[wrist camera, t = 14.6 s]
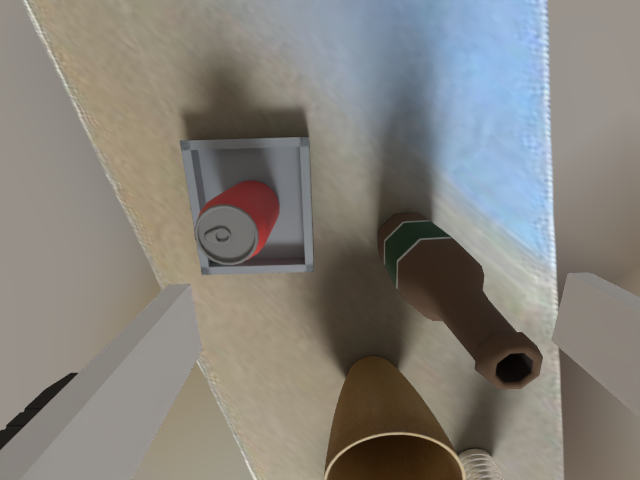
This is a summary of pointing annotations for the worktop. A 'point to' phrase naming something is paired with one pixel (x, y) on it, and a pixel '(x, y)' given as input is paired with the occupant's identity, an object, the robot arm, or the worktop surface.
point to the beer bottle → (456, 298)
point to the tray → (266, 167)
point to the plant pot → (386, 430)
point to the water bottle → (479, 465)
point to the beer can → (237, 222)
